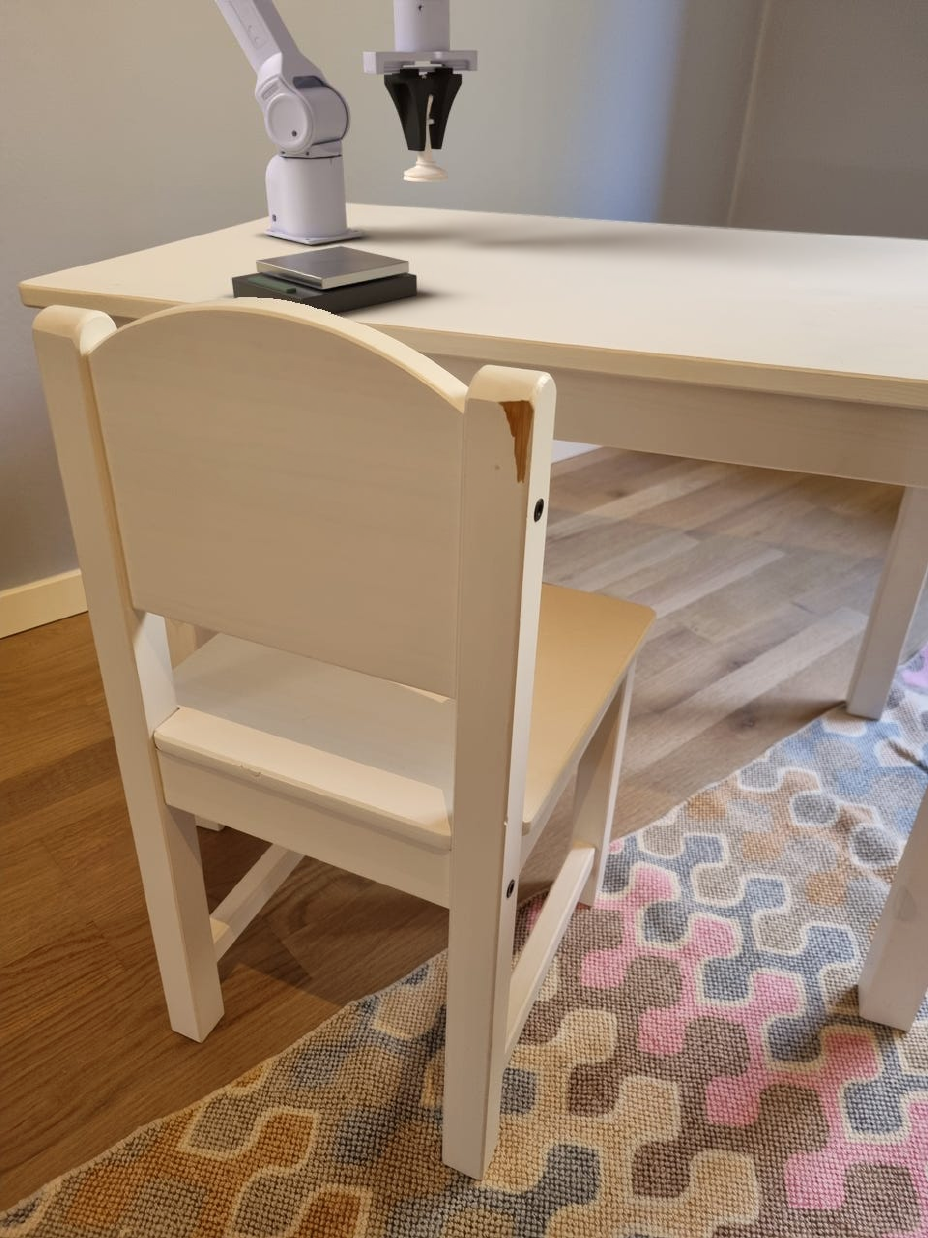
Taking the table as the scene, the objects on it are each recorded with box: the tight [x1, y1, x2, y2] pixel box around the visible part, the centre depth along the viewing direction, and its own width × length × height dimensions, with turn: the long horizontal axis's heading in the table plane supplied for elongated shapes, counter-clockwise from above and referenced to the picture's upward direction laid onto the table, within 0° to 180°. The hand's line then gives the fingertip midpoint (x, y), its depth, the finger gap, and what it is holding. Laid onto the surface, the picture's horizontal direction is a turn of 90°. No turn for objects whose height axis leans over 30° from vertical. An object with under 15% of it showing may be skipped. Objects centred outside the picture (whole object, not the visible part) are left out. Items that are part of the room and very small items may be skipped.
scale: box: [230, 272, 418, 314], centre depth 85 cm, size 11×13×2 cm
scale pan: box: [255, 245, 410, 290], centre depth 85 cm, size 10×10×1 cm
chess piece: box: [403, 74, 449, 183], centre depth 100 cm, size 5×5×10 cm
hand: (424, 149), depth 101 cm, fingers closed on chess piece
